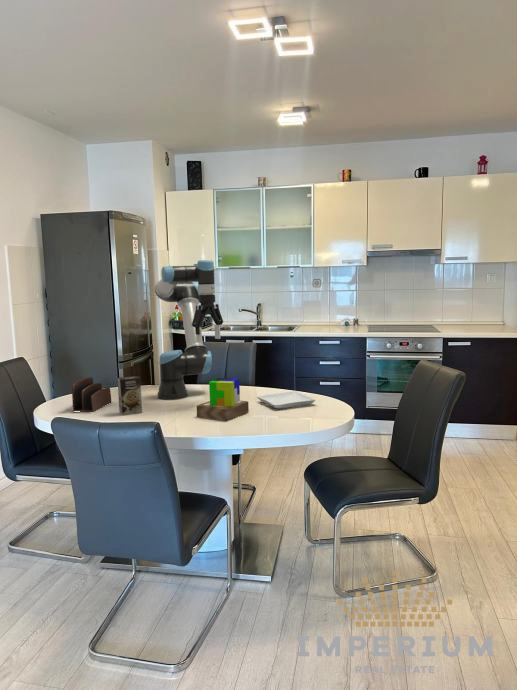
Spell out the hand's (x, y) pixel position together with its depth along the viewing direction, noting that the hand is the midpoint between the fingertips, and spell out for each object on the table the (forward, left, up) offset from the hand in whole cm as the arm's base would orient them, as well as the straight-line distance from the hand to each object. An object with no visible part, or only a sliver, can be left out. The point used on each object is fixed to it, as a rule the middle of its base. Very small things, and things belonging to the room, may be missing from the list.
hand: (208, 340), depth 236 cm
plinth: (+16, -12, -31) cm, 37 cm away
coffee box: (-24, -28, -31) cm, 48 cm away
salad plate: (+30, +18, -31) cm, 47 cm away
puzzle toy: (+17, -12, -26) cm, 33 cm away
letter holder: (-49, -29, -31) cm, 65 cm away
